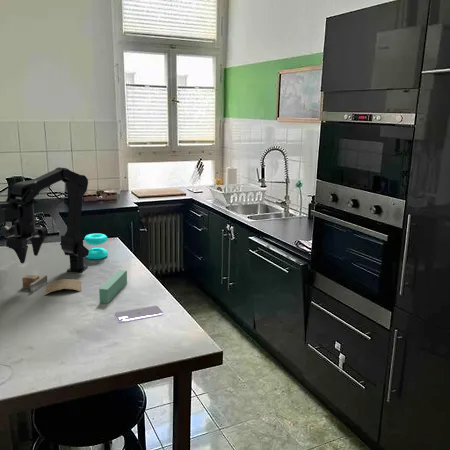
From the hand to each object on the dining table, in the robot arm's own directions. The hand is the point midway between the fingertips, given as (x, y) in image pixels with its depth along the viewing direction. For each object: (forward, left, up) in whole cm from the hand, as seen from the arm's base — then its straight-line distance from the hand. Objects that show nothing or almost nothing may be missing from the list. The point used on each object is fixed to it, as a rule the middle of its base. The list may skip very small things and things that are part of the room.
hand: (29, 259), depth 167 cm
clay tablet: (0, +12, -12) cm, 17 cm away
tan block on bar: (0, 0, -11) cm, 11 cm away
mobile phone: (+17, +46, -11) cm, 51 cm away
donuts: (-39, +9, -11) cm, 42 cm away
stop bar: (0, +32, -11) cm, 34 cm away
